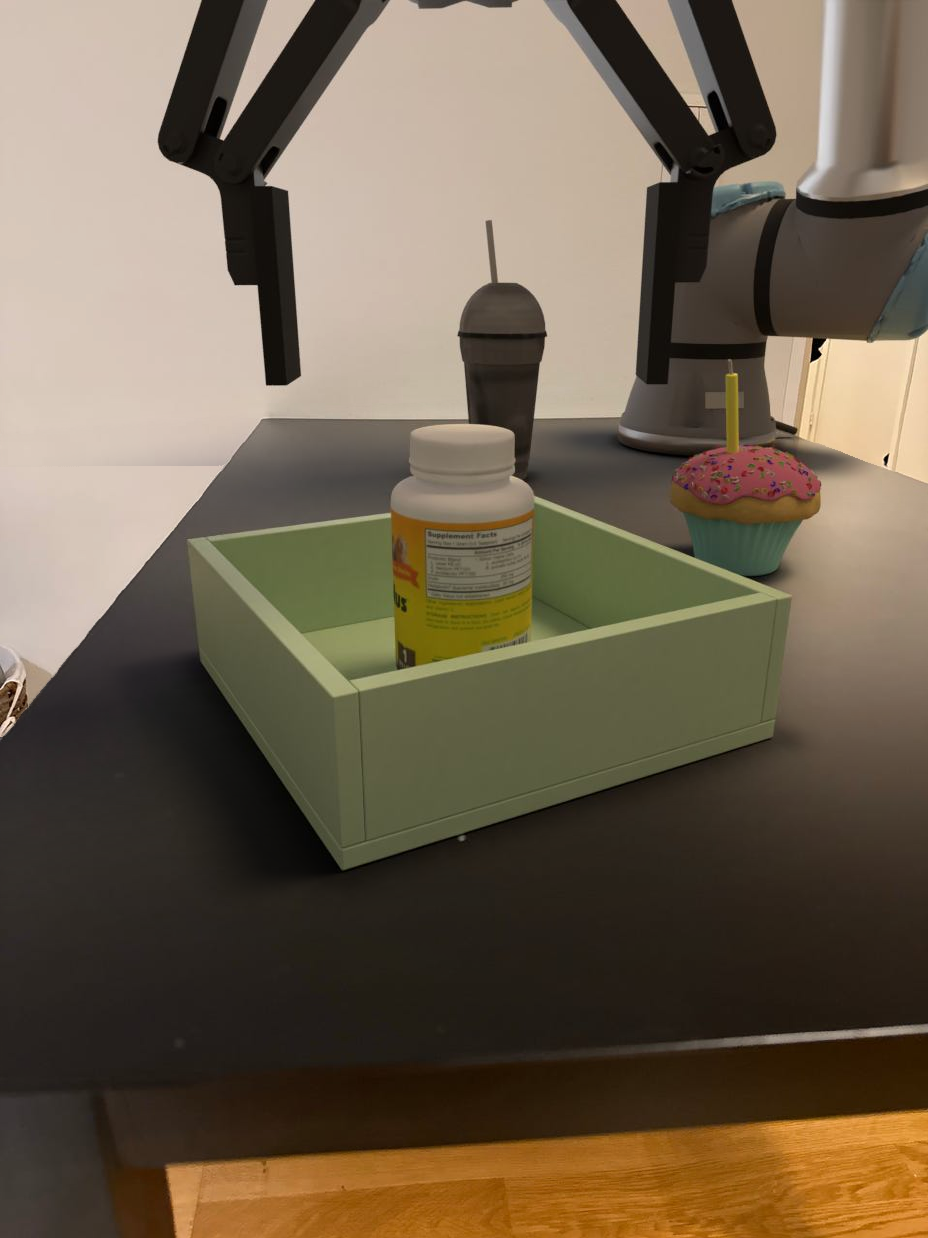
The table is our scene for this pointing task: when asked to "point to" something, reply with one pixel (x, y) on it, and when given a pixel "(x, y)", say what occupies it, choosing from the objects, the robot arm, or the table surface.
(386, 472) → the table surface
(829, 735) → the table surface
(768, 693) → the tote
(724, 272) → the robot arm
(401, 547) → the supplement bottle
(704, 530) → the cupcake
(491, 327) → the beverage cup
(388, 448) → the table surface
